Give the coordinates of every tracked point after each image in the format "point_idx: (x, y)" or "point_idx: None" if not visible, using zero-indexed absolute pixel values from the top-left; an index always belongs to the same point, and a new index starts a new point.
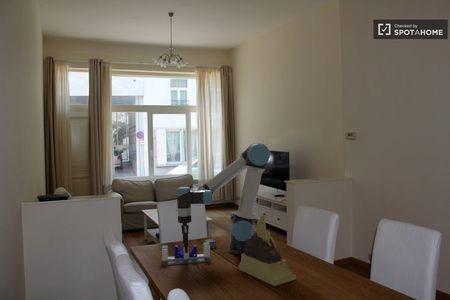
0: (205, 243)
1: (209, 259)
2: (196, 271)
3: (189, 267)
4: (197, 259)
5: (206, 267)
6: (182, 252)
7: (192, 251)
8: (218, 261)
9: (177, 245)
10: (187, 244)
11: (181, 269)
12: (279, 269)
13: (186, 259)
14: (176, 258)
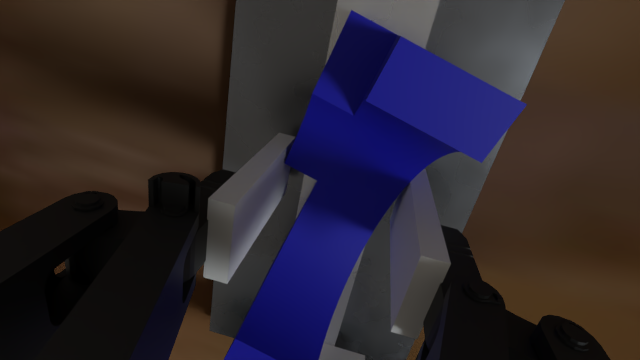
0: None
1: (221, 326)
2: (17, 146)
3: (122, 123)
4: (261, 253)
5: None
6: (390, 165)
7: (268, 274)
8: (204, 356)
9: (457, 130)
10: (51, 277)
11: (81, 31)
12: None
13: None
14: (330, 41)
